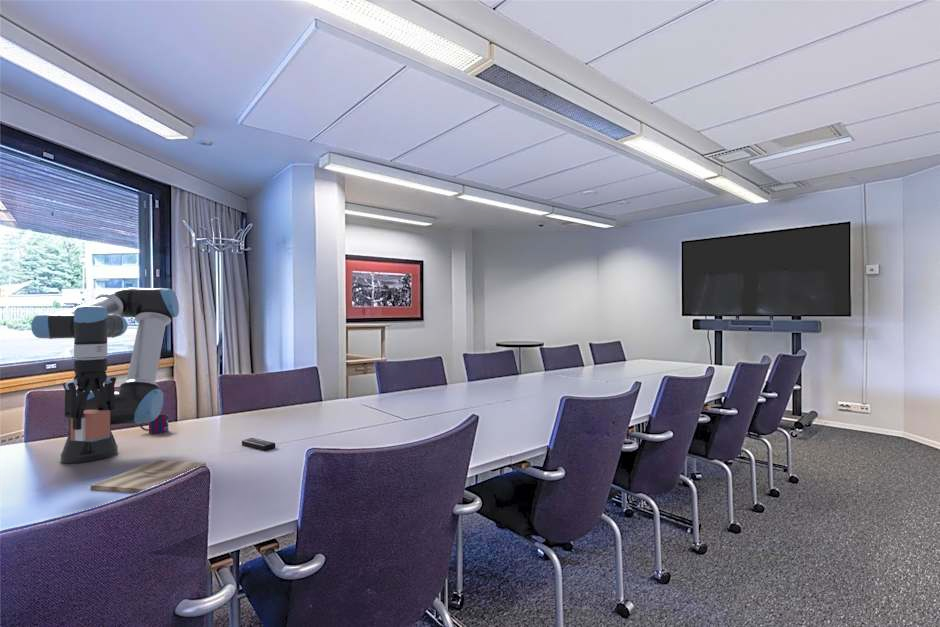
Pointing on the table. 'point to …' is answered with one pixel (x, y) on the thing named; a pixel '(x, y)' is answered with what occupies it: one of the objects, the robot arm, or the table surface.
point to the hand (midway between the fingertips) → (90, 437)
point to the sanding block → (94, 425)
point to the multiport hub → (258, 444)
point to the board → (145, 476)
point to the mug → (158, 425)
